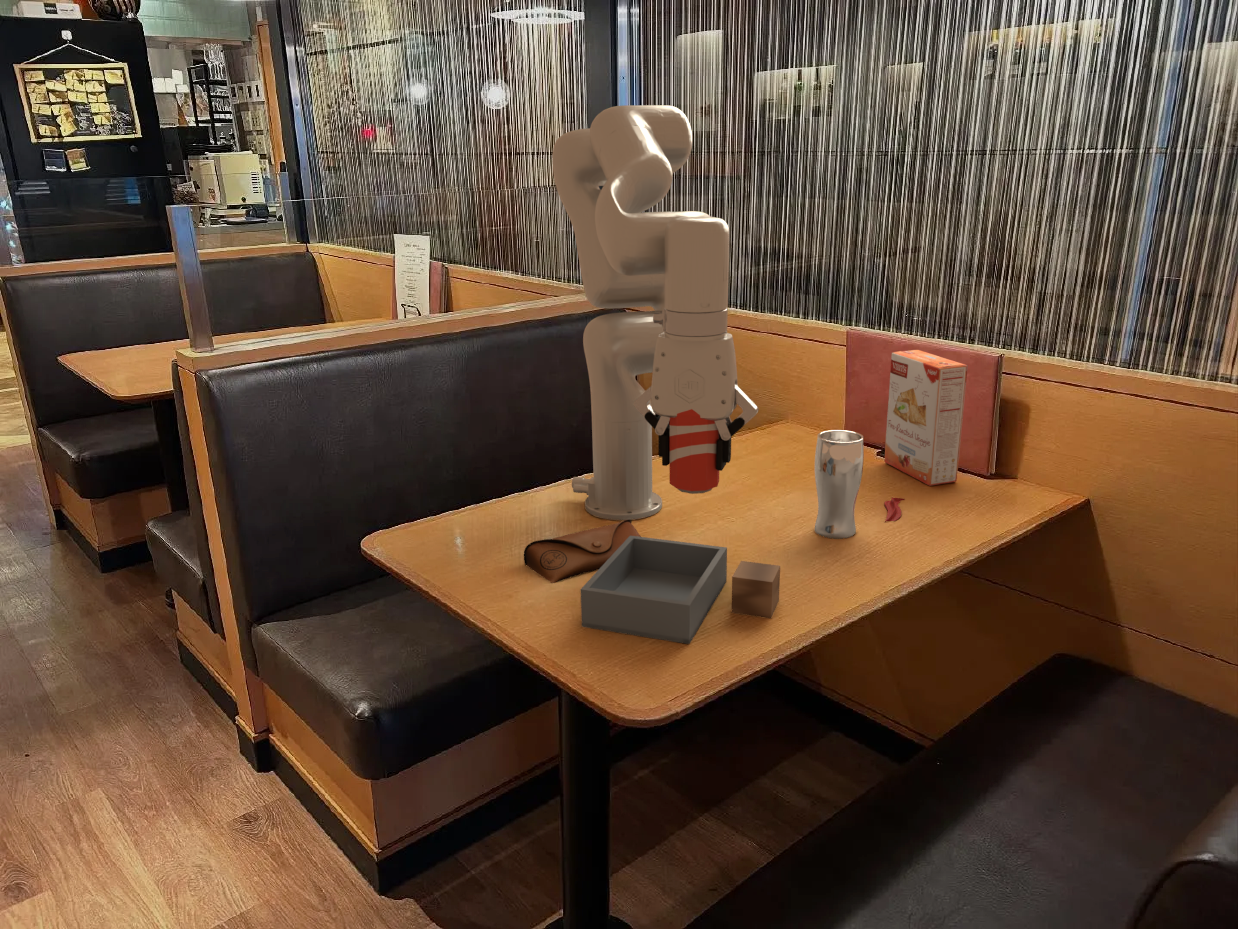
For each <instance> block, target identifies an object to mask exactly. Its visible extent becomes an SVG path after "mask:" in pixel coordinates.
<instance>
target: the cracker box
mask: <svg viewBox="0 0 1238 929" xmlns="http://www.w3.org/2000/svg"><path fill="white" fill-rule="evenodd" d="M889 371H890V373H889V374H890V375H889V389H888V404H887V405H888V406H887V416H886V429H885V430H886V432H885V447H884V450H885V451H884V459H883V460H884V463H886V464H888V465H890V466H891V467H893V468H895V469H897V470H899V471H900V472H902V473H904V474H906V475H908V476H910V477H911V478H914V479H916V480H918V481H920V482H921V483H923V484H925V485H926V486H927V485H928V486H930V487H931V486H936V485H944V484H950V483H957V480H958V469H959V459H960V450H961V449H960V448H961V438H962V428H963V417H964V408H965V398H966V397H965V395H966V386H967V378H968V376H967V375H968V365H967V364H965V363H961V362H958V361H954V360H952V359H948V358H945V357H942V356H938V355H936V354H933V353H929V352H926V351H923V350H920V349H912V350H899V351H893V352H891V356H890V370H889Z"/></svg>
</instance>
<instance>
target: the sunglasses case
mask: <svg viewBox="0 0 1238 929" xmlns="http://www.w3.org/2000/svg"><path fill="white" fill-rule="evenodd" d="M629 536H638V537H642V536H641V534H640V533H639V532H638V530H637V528H635V526H634V525H633V523H632V520H620V521H619V522H617V523H613V524H610V525H609V524H608V525H604V526H598V527H594V528H589V529H584V530H580V531H577V532H572V533H569V534H565V535H561V536H558V537H553V538H545V539H538V540H534V541H532V542H530V543H528V544H527V545H526V546H525V547H524V550H523V563H524V566H526V565H527V567H528V568H529V569H530V570H532V571H533V570H534V571H533V572H535V573H536V574H538V575H539V576H540V577H542V578H543V579H545V580H546V581H549V582H550V583H551V584H556V583H560V582H562V581H564V580H565V581H566V580H567V579H570V577H571V578H574V577H577V576H581V575H584V574H586V573H587V574H588V573H590V572H596V571H598V570H599V569H600V568H601V567H602V565H603V564H604V563H605V562H606V561H607V560H608V559H609V558H610V557H611V556H612V555H613V554H614V552H615V551H616V550H617V549H618V548H619V547H620V546H621V545H622V544H623V543H624V542H625V540H626V539H627V538H628V537H629Z"/></svg>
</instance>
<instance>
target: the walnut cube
mask: <svg viewBox="0 0 1238 929" xmlns="http://www.w3.org/2000/svg"><path fill="white" fill-rule="evenodd" d="M780 580H781V565H778V564H777V565H776V564H771V563H762V562H754V561H753V562H752V561H746V560H741V561H740V562H739V564H738V565H737V567H736V569H735V570H734V573H733V574H732V576H731V605H730V606H731V612H730V613H731V614H737V615H738V614H739V615H744V616H750V617H759V618H765V619H772V617H773V615H774V614H775V610H776V609H777V606H778V604H779V602H780V587H781V586H780Z"/></svg>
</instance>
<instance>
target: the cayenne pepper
mask: <svg viewBox="0 0 1238 929" xmlns="http://www.w3.org/2000/svg"><path fill="white" fill-rule="evenodd" d="M905 500H906V499H905V498H901V497H891V498H890V500H885V501H884V503H883V504H884V507H885V509H886V510H888V511H887V513H886V514H887V515H886V517H885V521H884V523H887V522H886V521H894V522H897V521H898V520H900V518H901V517H902V510H901V507H900V506H899V505H900V503H901V502H902V501H905Z"/></svg>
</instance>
